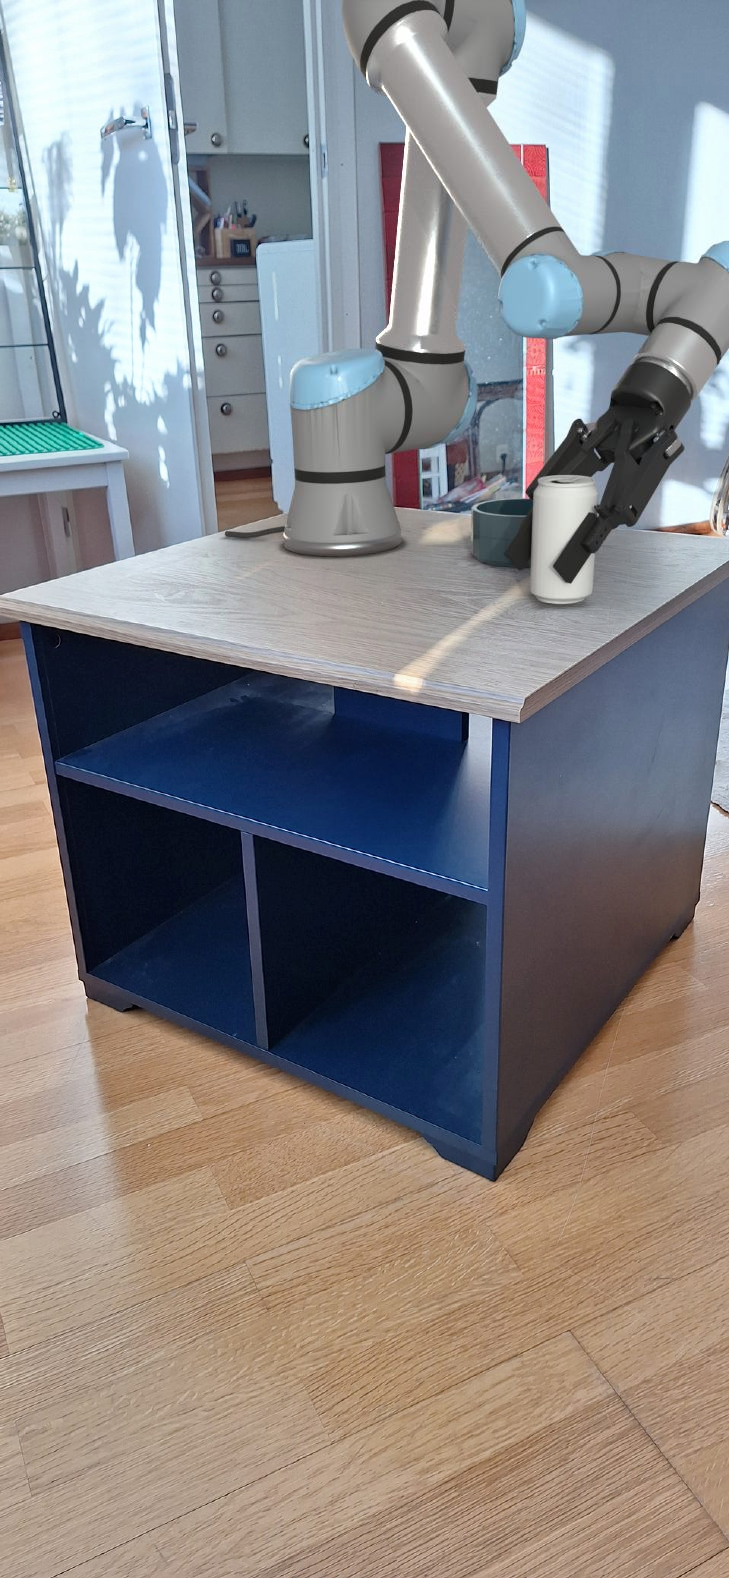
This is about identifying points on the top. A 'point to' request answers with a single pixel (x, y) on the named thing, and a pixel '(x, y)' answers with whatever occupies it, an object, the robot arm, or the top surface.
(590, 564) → the beverage can
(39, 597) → the top surface
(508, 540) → the bowl
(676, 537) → the top surface
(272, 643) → the top surface
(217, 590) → the top surface
